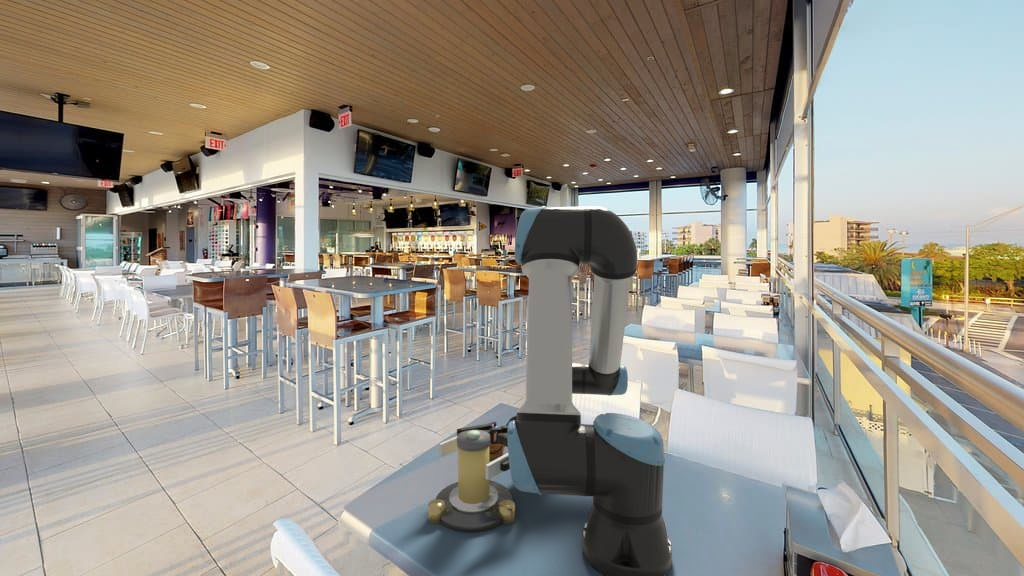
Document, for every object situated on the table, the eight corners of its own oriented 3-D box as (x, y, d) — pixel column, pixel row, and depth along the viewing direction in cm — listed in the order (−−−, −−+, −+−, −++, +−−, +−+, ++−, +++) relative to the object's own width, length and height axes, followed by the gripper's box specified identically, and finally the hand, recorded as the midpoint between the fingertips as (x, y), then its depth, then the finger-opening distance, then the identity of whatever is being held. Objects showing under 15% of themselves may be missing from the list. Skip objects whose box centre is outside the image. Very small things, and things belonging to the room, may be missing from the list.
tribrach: (528, 517, 82) (528, 502, 82) (444, 547, 74) (443, 531, 74) (490, 477, 97) (490, 465, 97) (416, 498, 89) (416, 485, 88)
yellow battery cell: (496, 498, 84) (495, 435, 83) (465, 508, 81) (464, 443, 80) (482, 482, 90) (481, 423, 89) (452, 491, 87) (451, 430, 86)
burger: (496, 441, 116) (496, 425, 116) (510, 456, 108) (510, 439, 107) (462, 448, 112) (462, 432, 112) (474, 464, 104) (474, 446, 103)
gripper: (572, 459, 91) (509, 503, 75) (490, 428, 107) (423, 459, 91) (573, 426, 90) (509, 463, 74) (490, 400, 107) (423, 425, 91)
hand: (462, 460), depth 83 cm, fingers open, 13 cm apart
